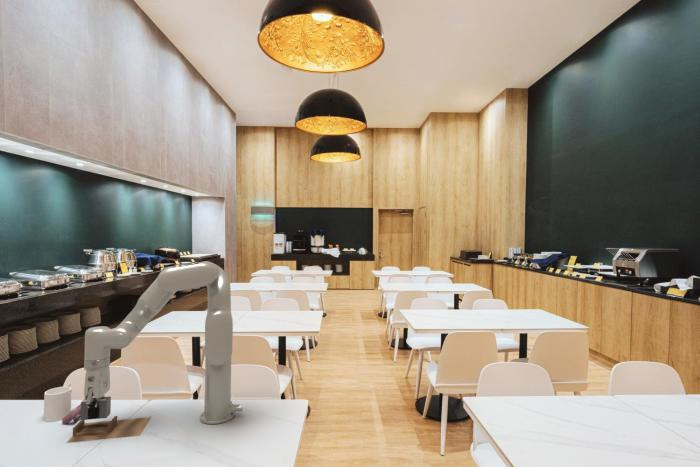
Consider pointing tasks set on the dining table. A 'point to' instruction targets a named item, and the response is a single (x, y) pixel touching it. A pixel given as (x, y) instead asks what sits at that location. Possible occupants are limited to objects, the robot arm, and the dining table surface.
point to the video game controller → (72, 415)
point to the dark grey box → (103, 405)
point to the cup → (57, 403)
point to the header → (108, 429)
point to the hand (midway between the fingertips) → (96, 415)
